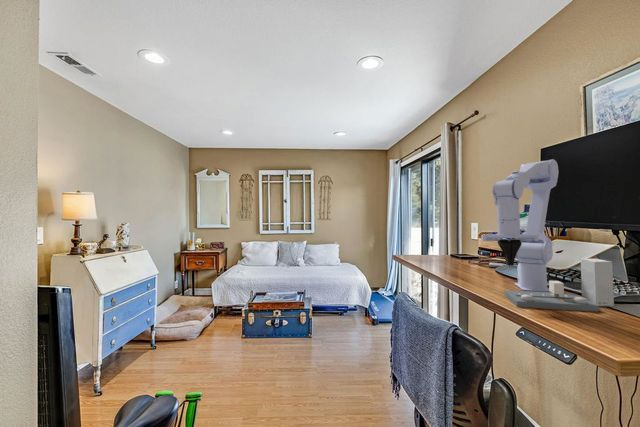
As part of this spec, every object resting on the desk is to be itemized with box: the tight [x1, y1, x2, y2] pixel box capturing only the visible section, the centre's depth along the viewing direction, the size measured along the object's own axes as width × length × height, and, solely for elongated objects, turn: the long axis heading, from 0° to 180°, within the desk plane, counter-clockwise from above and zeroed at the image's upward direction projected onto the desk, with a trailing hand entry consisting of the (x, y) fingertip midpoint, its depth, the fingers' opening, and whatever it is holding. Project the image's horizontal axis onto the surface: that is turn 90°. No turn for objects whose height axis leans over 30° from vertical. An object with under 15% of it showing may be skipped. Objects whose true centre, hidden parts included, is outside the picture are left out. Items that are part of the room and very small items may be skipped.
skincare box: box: [580, 258, 615, 307], centre depth 82 cm, size 6×4×12 cm
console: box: [503, 289, 600, 312], centre depth 84 cm, size 12×18×3 cm, turn 72°
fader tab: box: [548, 280, 565, 297], centre depth 83 cm, size 3×2×4 cm
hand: (509, 265), depth 89 cm, fingers closed
